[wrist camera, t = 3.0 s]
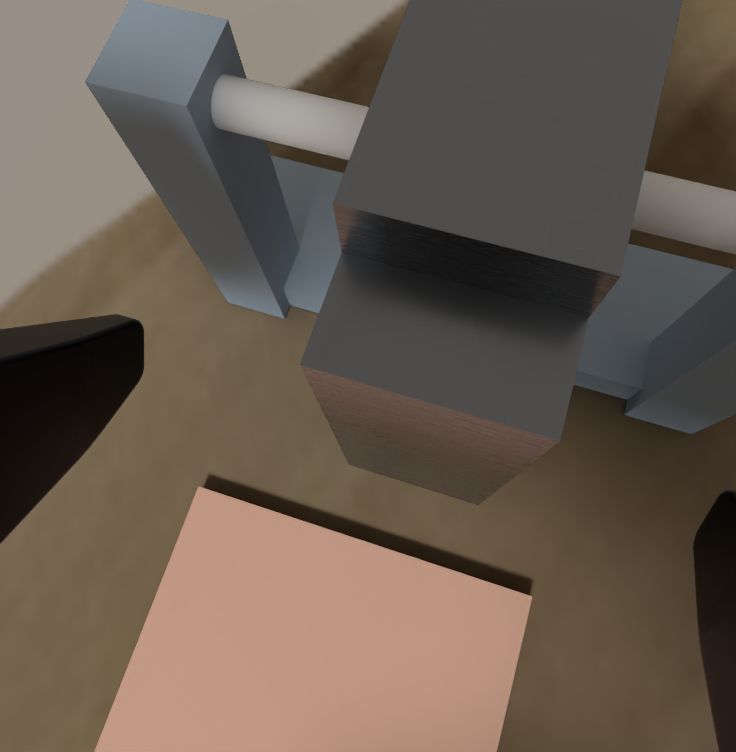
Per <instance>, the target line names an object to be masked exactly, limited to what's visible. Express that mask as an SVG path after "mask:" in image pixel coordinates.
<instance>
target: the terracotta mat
mask: <svg viewBox="0 0 736 752" xmlns="http://www.w3.org/2000/svg"><path fill="white" fill-rule="evenodd" d="M531 601H532V596H529V595H526V594H523V593H520V592H517V591H514V590H511V589H508V588H505V587H502V586H499V585H496V584H493V583H490V582H487V581H484V580H481V579H478V578H475V577H472V576H469V575H466V574H463V573H460V572H457V571H454V570H451V569H447V568H444V567H441V566H438V565H435V564H432V563H429V562H426V561H423V560H420V559H417V558H414V557H411V556H408V555H405V554H402V553H399V552H396V551H393V550H390V549H387V548H384V547H381V546H378V545H375V544H372V543H369V542H366V541H363V540H360V539H357V538H354V537H350V536H347V535H344V534H341V533H338V532H335V531H332V530H329V529H326V528H323V527H320V526H317V525H314V524H311V523H308V522H305V521H302V520H299V519H296V518H293V517H290V516H287V515H284V514H281V513H278V512H275V511H272V510H269V509H266V508H263V507H260V506H257V505H254V504H250V503H247V502H244V501H241V500H238V499H235V498H232V497H229V496H226V495H223V494H220V493H217V492H214V491H211V490H208V489H205V488H202V487H198V489H197V492H196V494H195V497H194V500H193V502H192V505H191V507H190V510H189V512H188V515H187V517H186V520H185V522H184V525H183V528H182V530H181V533H180V535H179V538H178V540H177V543H176V545H175V548H174V550H173V553H172V556H171V558H170V561H169V563H168V566H167V568H166V571H165V573H164V576H163V578H162V581H161V584H160V586H159V589H158V591H157V594H156V596H155V599H154V601H153V604H152V606H151V609H150V612H149V614H148V617H147V619H146V622H145V624H144V627H143V629H142V632H141V634H140V637H139V640H138V642H137V645H136V647H135V650H134V652H133V655H132V657H131V660H130V662H129V665H128V668H127V670H126V673H125V675H124V678H123V680H122V683H121V685H120V688H119V690H118V693H117V696H116V698H115V701H114V703H113V706H112V708H111V711H110V713H109V716H108V718H107V721H106V724H105V726H104V729H103V731H102V734H101V736H100V739H99V741H98V744H97V746H96V749H95V752H497V748H498V744H499V740H500V735H501V731H502V727H503V722H504V718H505V714H506V709H507V705H508V701H509V696H510V692H511V688H512V683H513V679H514V675H515V670H516V666H517V662H518V657H519V653H520V648H521V644H522V640H523V635H524V631H525V627H526V622H527V618H528V614H529V609H530V605H531Z"/></svg>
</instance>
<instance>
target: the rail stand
mask: <svg viewBox="0 0 736 752" xmlns="http://www.w3.org/2000/svg"><path fill="white" fill-rule="evenodd" d="M85 83H86V84H87V86H88V87H89V89H90V91H91V92H92V93H93V95H94V97H95V98H96V100H97V101H98V103H99V104H100V106H101V107H102V109H103V110H104V112H105V114H106V115H107V117H108V118H109V120H110V121H111V123H112V124H113V126H114V127H115V129H116V131H117V132H118V134H119V135H120V137H121V138H122V140H123V141H124V143H125V144H126V146H127V147H128V149H129V150H130V152H131V154H132V155H133V157H134V158H135V160H136V161H137V163H138V164H139V166H140V167H141V169H142V171H143V172H144V174H145V175H146V177H147V178H148V180H149V181H150V183H151V184H152V186H153V187H154V189H155V191H156V192H157V194H158V195H159V197H160V198H161V200H162V201H163V203H164V204H165V206H166V207H167V209H168V211H169V212H170V214H171V215H172V217H173V218H174V220H175V221H176V223H177V224H178V226H179V227H180V229H181V231H182V232H183V234H184V235H185V237H186V238H187V240H188V241H189V243H190V244H191V246H192V247H193V249H194V250H195V252H196V254H197V255H198V257H199V258H200V260H201V261H202V263H203V264H204V266H205V267H206V269H207V270H208V272H209V274H210V275H211V277H212V278H213V280H214V281H215V283H216V284H217V286H218V287H219V289H220V290H221V292H222V294H223V295H224V297H225V298H226V300H227V301H228V303H231V304H235V305H238V306H242V307H246V308H249V309H253V310H256V311H260V312H263V313H267V314H270V315H274V316H277V317H281V318H284V319H285V317H286V314H287V312H288V309H289V306H290V305H291V306H295V307H298V308H302V309H306V310H309V311H313V312H316V313H319V312H320V309H321V307H322V304H323V301H324V298H325V296H326V293H327V290H328V287H329V285H330V282H331V279H332V277H333V274H334V271H335V268H336V266H337V263H338V260H339V258H340V255H341V247H340V241H339V236H338V230H337V225H336V219H335V214H334V209H333V200H334V198H335V195H336V193H337V190H338V187H339V185H340V182H341V180H342V177H343V174H344V173H341V172H337V171H333V170H329V169H325V168H321V167H317V166H313V165H308V164H304V163H300V162H296V161H292V160H288V159H284V158H280V157H276V156H272V155H270V152H269V149H268V146H267V142H266V140H267V141H271V142H275V143H279V144H283V145H287V146H292V147H296V148H300V149H304V150H308V151H312V152H316V153H320V154H324V155H329V156H333V157H337V158H341V159H345V160H349V159H350V156H351V153H352V151H353V148H354V145H355V143H356V140H357V138H358V135H359V132H360V130H361V127H362V125H363V122H364V119H365V117H366V114H367V111H368V109H369V107H366V106H362V105H358V104H353V103H349V102H345V101H340V100H336V99H332V98H327V97H323V96H319V95H314V94H310V93H306V92H301V91H297V90H293V89H288V88H284V87H279V86H275V85H271V84H266V83H262V82H257V81H253V80H249V79H246V75H245V72H244V69H243V66H242V63H241V60H240V56H239V53H238V50H237V47H236V44H235V40H234V37H233V34H232V31H231V28H230V25H229V21H228V20H227V19H223V18H218V17H213V16H209V15H204V14H199V13H195V12H190V11H186V10H181V9H176V8H172V7H167V6H162V5H158V4H153V3H149V2H144V1H140V0H129V2H128V4H127V5H126V7H125V9H124V11H123V13H122V15H121V16H120V18H119V20H118V22H117V24H116V26H115V28H114V29H113V31H112V33H111V35H110V37H109V39H108V41H107V42H106V44H105V46H104V48H103V50H102V51H101V53H100V55H99V57H98V59H97V61H96V63H95V64H94V66H93V68H92V70H91V72H90V73H89V75H88V77H87V79H86V81H85ZM632 229H633V230H637V231H641V232H645V233H649V234H653V235H657V236H661V237H665V238H670V239H674V240H678V241H682V242H686V243H690V244H694V245H698V246H702V247H707V248H711V249H715V250H719V251H723V252H727V253H731V254H735V255H736V191H732V190H727V189H723V188H719V187H714V186H710V185H706V184H701V183H697V182H693V181H688V180H684V179H679V178H675V177H671V176H666V175H662V174H658V173H653V172H649V171H645V170H644V175H643V179H642V184H641V188H640V193H639V197H638V202H637V206H636V211H635V215H634V220H633V224H632ZM574 385H576V386H580V387H584V388H587V389H591V390H594V391H598V392H601V393H605V394H609V395H612V396H616V397H619V398H623V399H626V400H627V403H626V408H625V413H624V415H626V416H629V417H633V418H636V419H640V420H643V421H647V422H650V423H654V424H657V425H661V426H664V427H668V428H672V429H675V430H679V431H682V432H686V433H689V434H693V433H695V432H698V431H700V430H702V429H704V428H706V427H709V426H711V425H713V424H715V423H718V422H720V421H722V420H724V419H727V418H729V417H731V416H733V415H736V268H735V269H730V268H726V267H722V266H718V265H714V264H710V263H706V262H702V261H698V260H694V259H690V258H686V257H682V256H677V255H673V254H669V253H665V252H661V251H657V250H653V249H649V248H645V247H641V246H637V245H633V244H629V243H628V247H627V251H626V256H625V260H624V265H623V269H622V274H621V277H620V278H619V279H618V281H617V282H616V283H615V285H614V286H613V287H612V289H611V290H610V291H609V292H608V294H607V295H606V296H605V298H604V299H603V300H602V302H601V303H600V304H599V306H598V307H597V308H596V309H595V311H594V312H593V313H592V315H591V316H590V317H589V321H588V325H587V329H586V333H585V338H584V342H583V346H582V351H581V355H580V359H579V363H578V368H577V372H576V376H575V381H574Z"/></svg>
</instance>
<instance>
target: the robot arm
mask: <svg viewBox="0 0 736 752" xmlns="http://www.w3.org/2000/svg"><path fill="white" fill-rule="evenodd" d="M143 370H144V328H143V325H142V324H141V323H140V321H138V320H136V319H132V318H129V317H126V316H122V315H117V314H114V315H106V316H98V317H91V318H83V319H75V320H68V321H60V322H53V323H45V324H37V325H30V326H22V327H14V328H7V329H0V544H1V543H2V542H3V541H4V539H5V538H6V537H7V536H8V535H9V534H10V533H11V532H12V531H13V530H14V529H15V528H16V527H17V525H18V524H19V523H20V522H21V521H22V520H23V519H24V518H25V517H26V516H27V515H28V514H29V513H30V512H31V510H32V509H33V508H34V507H35V506H36V505H37V504H38V503H39V502H40V501H41V500H42V499H43V498H44V496H45V495H46V494H47V493H48V492H49V491H50V490H51V489H52V488H53V487H54V486H55V485H56V484H57V483H58V481H59V480H60V479H61V478H62V477H63V476H64V475H65V474H66V473H67V472H68V471H69V470H70V469H71V467H72V466H73V465H74V464H75V463H76V462H77V461H78V460H79V459H80V458H81V457H82V455H83V454H84V453H85V452H86V451H87V450H88V449H89V447H90V446H91V445H92V444H93V442H94V441H95V440H96V439H97V437H98V436H99V435H100V433H101V432H102V431H103V429H104V428H105V427H106V425H107V424H108V423H109V421H110V420H111V419H112V417H113V416H114V415H115V413H116V412H117V411H118V409H119V408H120V406H121V405H122V404H123V402H124V401H125V400H126V398H127V397H128V396H129V394H130V393H131V392H132V390H133V389H134V388H135V386H136V385H137V384H138V382H139V381H140V379H141V377H142V374H143ZM693 552H694V569H695V586H696V603H697V620H698V633H699V643H700V650H701V656H702V662H703V668H704V673H705V678H706V684H707V689H708V695H709V700H710V706H711V711H712V716H713V722H714V727H715V733H716V738H717V744H718V749H719V752H736V491H731V490H727V491H724V492H723V493H721V494H720V495H719V496H718V498H717V499H716V501H715V503H714V504H713V506H712V508H711V509H710V511H709V513H708V514H707V516H706V518H705V519H704V521H703V522H702V524H701V526H700V527H699V529H698V531H697V533H696V536H695V539H694V545H693Z"/></svg>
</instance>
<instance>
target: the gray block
mask: <svg viewBox="0 0 736 752" xmlns="http://www.w3.org/2000/svg"><path fill="white" fill-rule="evenodd" d="M681 4H682V0H410V1H409V4H408V7H407V9H406V12H405V14H404V17H403V20H402V22H401V25H400V28H399V30H398V33H397V35H396V38H395V41H394V43H393V46H392V49H391V51H390V54H389V56H388V59H387V62H386V64H385V67H384V69H383V72H382V75H381V77H380V80H379V83H378V85H377V88H376V90H375V93H374V96H373V98H372V101H371V104H370V106H369V109H368V111H367V114H366V117H365V119H364V122H363V125H362V127H361V130H360V132H359V135H358V138H357V140H356V143H355V145H354V148H353V151H352V153H351V156H350V159H349V161H348V164H347V166H346V169H345V172H344V174H343V177H342V180H341V182H340V185H339V187H338V190H337V193H336V195H335V198H334V200H333V209H334V214H335V219H336V225H337V230H338V236H339V241H340V247H341V255H340V258H339V260H338V263H337V266H336V268H335V271H334V274H333V277H332V279H331V282H330V285H329V287H328V290H327V293H326V296H325V298H324V301H323V304H322V307H321V309H320V312H319V315H318V317H317V320H316V323H315V326H314V328H313V331H312V334H311V336H310V339H309V342H308V345H307V347H306V350H305V353H304V355H303V358H302V361H301V364H300V366H301V368H302V370H303V372H304V374H305V376H306V378H307V380H308V382H309V384H310V386H311V388H312V390H313V392H314V394H315V396H316V398H317V400H318V402H319V404H320V406H321V408H322V410H323V412H324V414H325V417H326V419H327V421H328V423H329V425H330V427H331V429H332V431H333V433H334V435H335V437H336V439H337V441H338V443H339V445H340V447H341V449H342V451H343V453H344V455H345V457H346V459H347V461H348V463H349V465H353V466H356V467H359V468H362V469H365V470H369V471H372V472H375V473H378V474H381V475H385V476H388V477H391V478H394V479H397V480H401V481H404V482H407V483H410V484H413V485H416V486H420V487H423V488H426V489H429V490H432V491H436V492H439V493H442V494H445V495H448V496H452V497H455V498H458V499H461V500H464V501H468V502H471V503H474V504H477V505H478V504H480V503H481V502H482V501H484V500H485V499H486V498H487V497H489V496H490V495H491V494H493V493H494V492H495V491H497V490H498V489H499V488H500V487H502V486H503V485H504V484H506V483H507V482H508V481H509V480H511V479H512V478H513V477H515V476H516V475H517V474H519V473H520V472H521V471H522V470H524V469H525V468H526V467H528V466H529V465H530V464H531V463H533V462H534V461H535V460H537V459H538V458H539V457H541V456H542V455H543V454H544V453H546V452H547V451H548V450H550V449H551V448H552V447H553V446H555V445H556V444H557V443H559V442H560V441H561V436H562V432H563V428H564V423H565V419H566V415H567V411H568V406H569V402H570V398H571V393H572V389H573V385H574V381H575V376H576V372H577V368H578V363H579V359H580V355H581V351H582V346H583V342H584V338H585V333H586V329H587V325H588V321H589V317H590V316H591V315H592V313H593V312H594V311H595V309H596V308H597V307H598V306H599V304H600V303H601V302H602V300H603V299H604V298H605V296H606V295H607V294H608V292H609V291H610V290H611V289H612V287H613V286H614V285H615V283H616V282H617V281H618V279H619V278H620V277H621V274H622V269H623V265H624V260H625V256H626V251H627V247H628V242H629V238H630V233H631V229H632V224H633V220H634V215H635V211H636V206H637V202H638V197H639V193H640V188H641V184H642V179H643V175H644V170H645V166H646V161H647V157H648V152H649V148H650V143H651V139H652V134H653V130H654V125H655V121H656V116H657V112H658V107H659V103H660V98H661V94H662V89H663V85H664V80H665V76H666V71H667V67H668V62H669V58H670V53H671V49H672V44H673V40H674V35H675V31H676V26H677V22H678V17H679V13H680V8H681Z"/></svg>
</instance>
